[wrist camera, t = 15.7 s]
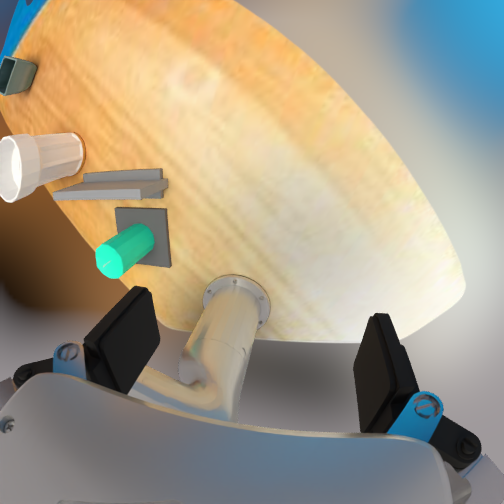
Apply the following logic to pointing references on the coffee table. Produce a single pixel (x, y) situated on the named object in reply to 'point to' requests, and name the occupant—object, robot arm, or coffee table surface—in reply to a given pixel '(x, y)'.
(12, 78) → the flower pot
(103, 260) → the candle
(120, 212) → the mat
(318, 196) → the coffee table surface
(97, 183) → the board
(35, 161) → the cup
